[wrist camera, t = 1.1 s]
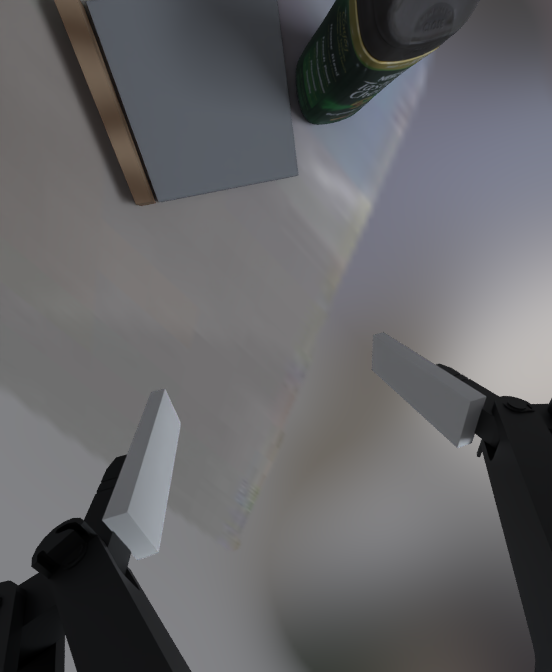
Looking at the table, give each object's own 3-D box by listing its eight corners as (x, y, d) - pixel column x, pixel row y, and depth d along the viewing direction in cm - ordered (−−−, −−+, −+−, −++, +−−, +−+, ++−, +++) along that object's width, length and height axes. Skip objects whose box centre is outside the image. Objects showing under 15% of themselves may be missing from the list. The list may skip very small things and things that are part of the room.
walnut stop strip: (64, 10, 24) (49, -11, 22) (84, 8, 25) (72, -13, 23) (141, 206, 32) (136, 204, 30) (156, 203, 33) (151, 201, 31)
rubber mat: (89, 7, 25) (86, 1, 24) (273, -10, 27) (275, -16, 26) (159, 202, 33) (158, 201, 32) (296, 175, 35) (298, 174, 35)
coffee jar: (301, 134, 33) (385, 44, 17) (288, 55, 30) (379, -156, 13) (363, 117, 34) (501, 17, 18) (358, 39, 31) (525, -178, 14)
